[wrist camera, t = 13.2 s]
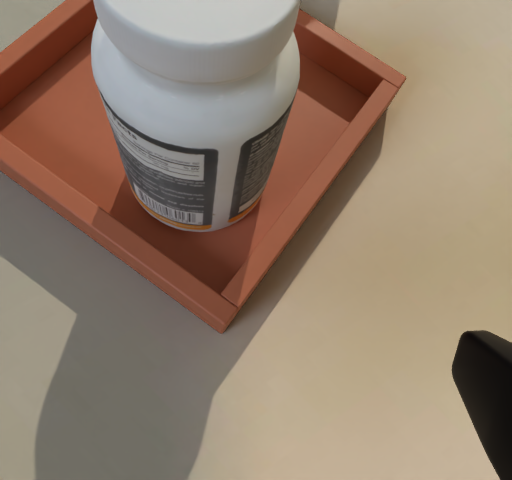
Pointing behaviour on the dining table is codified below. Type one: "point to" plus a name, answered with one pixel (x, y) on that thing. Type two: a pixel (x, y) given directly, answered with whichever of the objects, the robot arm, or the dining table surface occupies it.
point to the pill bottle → (197, 100)
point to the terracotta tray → (115, 180)
